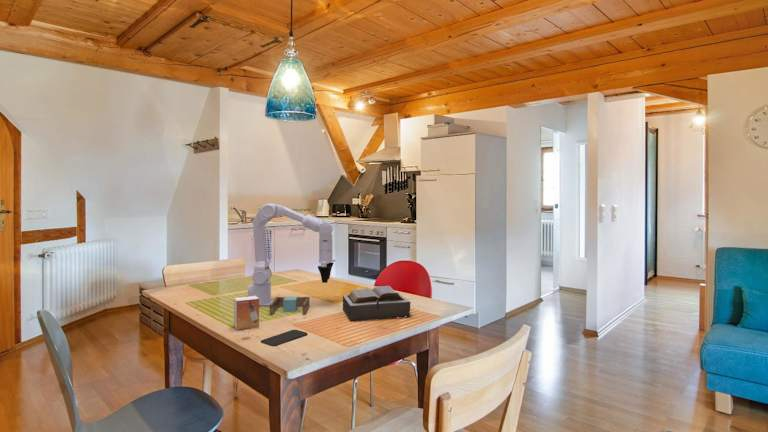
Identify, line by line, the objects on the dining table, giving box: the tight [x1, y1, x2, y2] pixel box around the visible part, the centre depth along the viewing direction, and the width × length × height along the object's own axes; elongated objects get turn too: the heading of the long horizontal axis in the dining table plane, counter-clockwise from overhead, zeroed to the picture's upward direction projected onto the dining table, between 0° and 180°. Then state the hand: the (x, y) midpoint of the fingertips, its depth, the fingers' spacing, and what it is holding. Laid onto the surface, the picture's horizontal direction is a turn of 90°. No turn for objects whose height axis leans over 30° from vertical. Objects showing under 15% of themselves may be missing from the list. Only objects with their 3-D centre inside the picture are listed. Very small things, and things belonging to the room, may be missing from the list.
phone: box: [260, 329, 308, 347], centre depth 145 cm, size 7×1×15 cm
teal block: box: [282, 296, 299, 313], centre depth 179 cm, size 5×5×5 cm
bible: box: [342, 285, 412, 322], centre depth 176 cm, size 23×27×10 cm
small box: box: [233, 296, 260, 331], centre depth 157 cm, size 8×6×10 cm
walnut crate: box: [269, 296, 311, 316], centre depth 179 cm, size 14×14×4 cm
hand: (325, 280), depth 190 cm, fingers open, 7 cm apart
